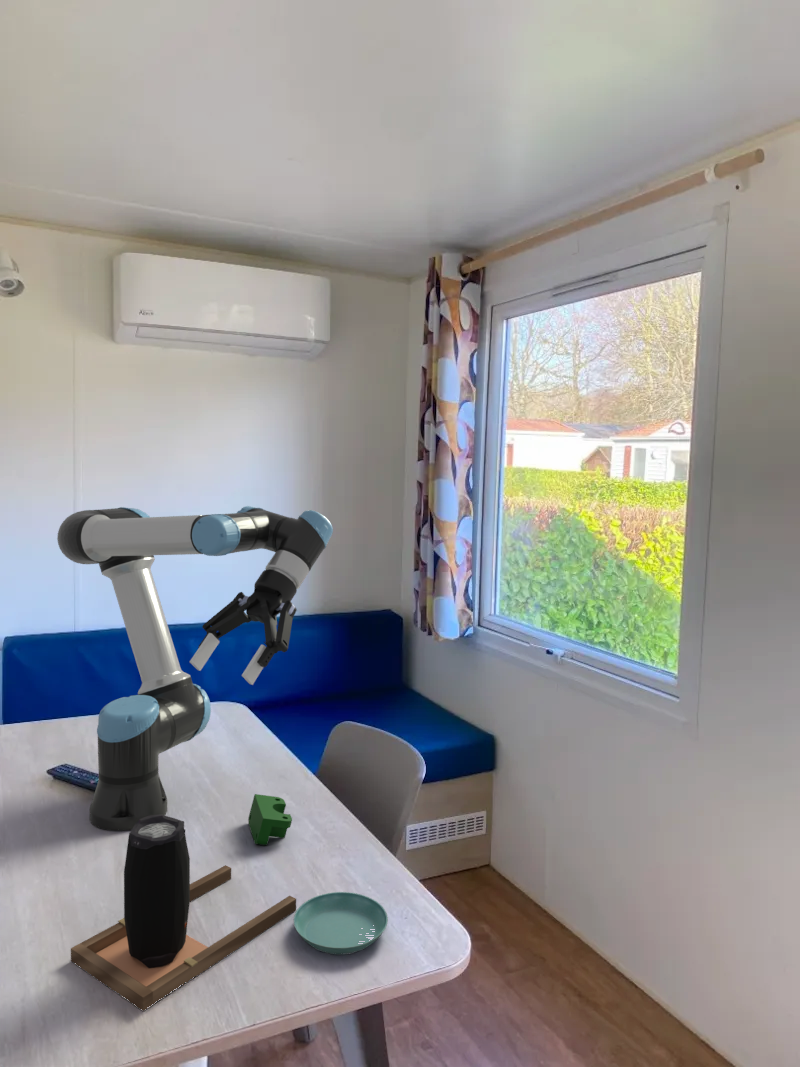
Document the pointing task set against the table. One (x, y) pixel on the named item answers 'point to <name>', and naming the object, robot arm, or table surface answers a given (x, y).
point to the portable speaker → (156, 889)
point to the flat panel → (139, 971)
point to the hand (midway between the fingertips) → (220, 673)
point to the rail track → (192, 966)
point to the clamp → (268, 818)
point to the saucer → (340, 922)
